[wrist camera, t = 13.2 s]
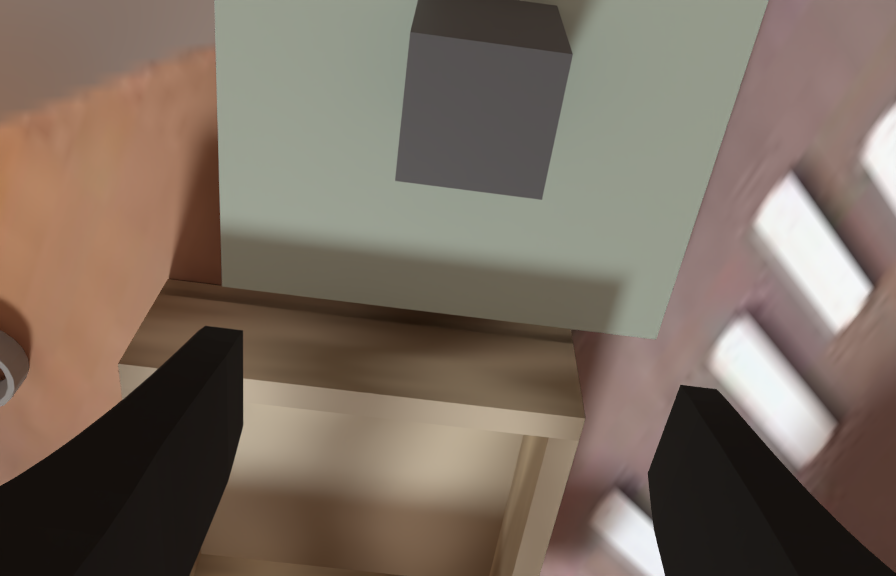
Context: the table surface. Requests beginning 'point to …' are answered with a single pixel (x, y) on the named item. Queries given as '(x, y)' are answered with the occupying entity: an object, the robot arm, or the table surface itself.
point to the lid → (473, 151)
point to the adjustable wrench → (11, 367)
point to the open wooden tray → (379, 435)
